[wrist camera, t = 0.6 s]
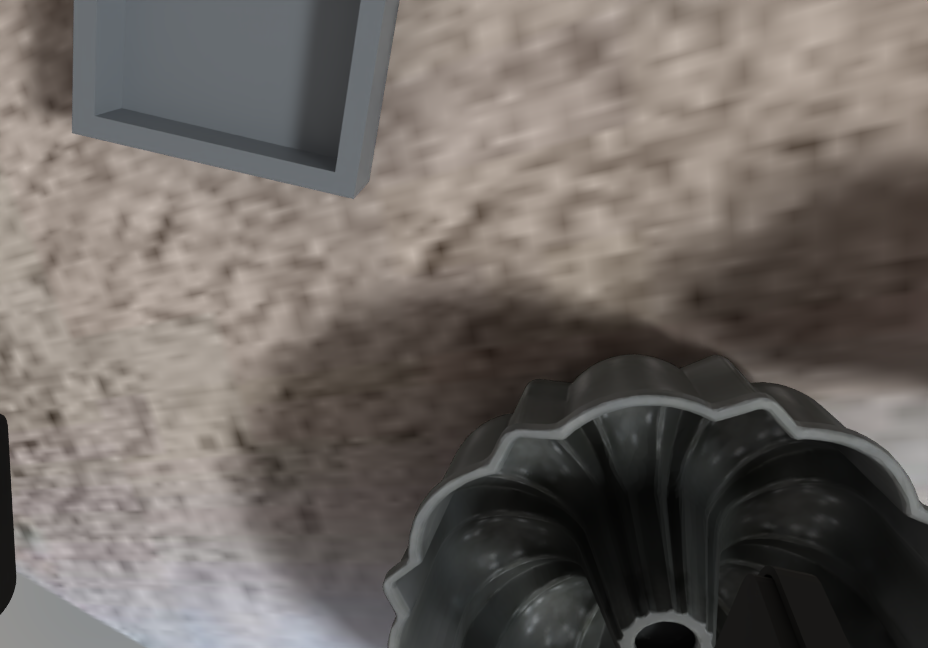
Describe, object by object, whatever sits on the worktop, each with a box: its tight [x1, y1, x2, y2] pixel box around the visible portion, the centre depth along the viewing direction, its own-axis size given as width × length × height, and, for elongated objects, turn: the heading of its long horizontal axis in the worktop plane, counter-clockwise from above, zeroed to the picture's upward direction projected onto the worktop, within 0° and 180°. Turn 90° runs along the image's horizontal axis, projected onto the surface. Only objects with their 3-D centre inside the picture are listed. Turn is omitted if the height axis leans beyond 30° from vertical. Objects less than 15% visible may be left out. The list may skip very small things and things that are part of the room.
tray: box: [72, 0, 399, 199], centre depth 35 cm, size 13×13×4 cm
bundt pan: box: [383, 354, 928, 648], centre depth 41 cm, size 26×26×10 cm
